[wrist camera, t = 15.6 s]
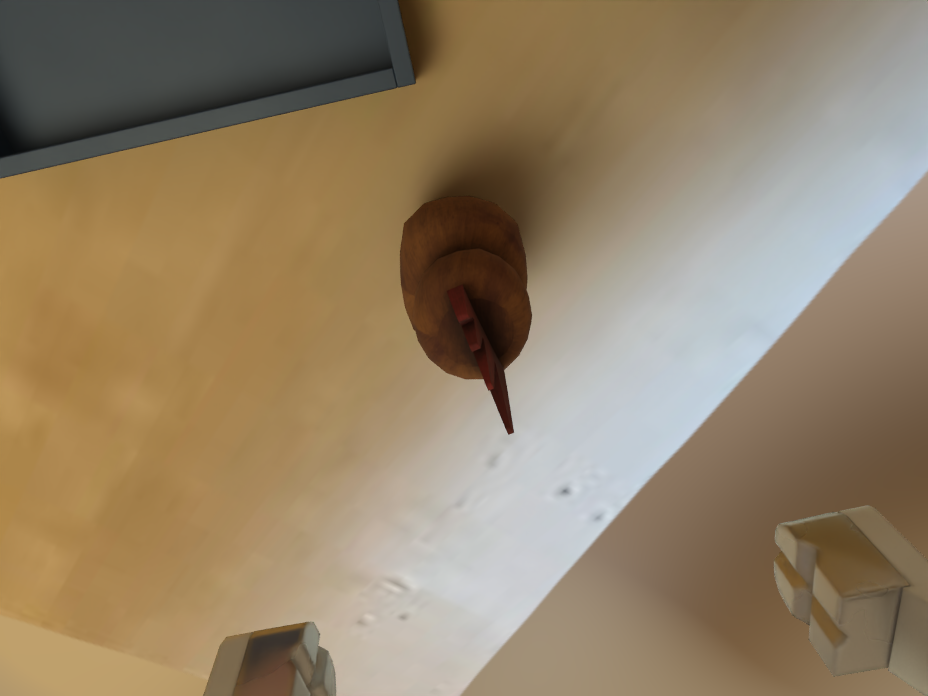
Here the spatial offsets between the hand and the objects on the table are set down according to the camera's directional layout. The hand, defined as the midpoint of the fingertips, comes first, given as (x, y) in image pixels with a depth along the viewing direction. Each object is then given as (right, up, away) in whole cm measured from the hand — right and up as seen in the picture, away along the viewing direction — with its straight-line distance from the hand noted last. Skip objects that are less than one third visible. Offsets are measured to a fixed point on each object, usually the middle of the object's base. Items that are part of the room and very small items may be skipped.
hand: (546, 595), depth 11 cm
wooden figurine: (-2, +10, +22) cm, 24 cm away
